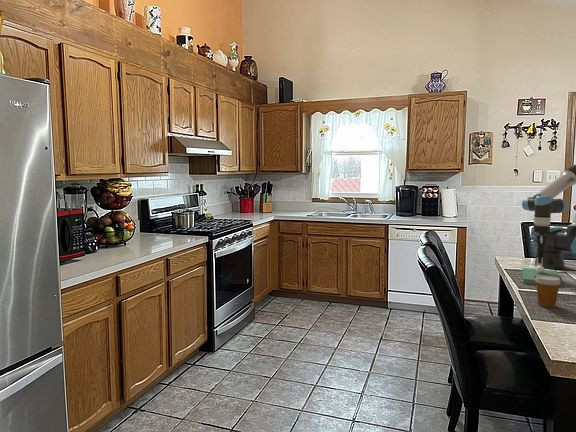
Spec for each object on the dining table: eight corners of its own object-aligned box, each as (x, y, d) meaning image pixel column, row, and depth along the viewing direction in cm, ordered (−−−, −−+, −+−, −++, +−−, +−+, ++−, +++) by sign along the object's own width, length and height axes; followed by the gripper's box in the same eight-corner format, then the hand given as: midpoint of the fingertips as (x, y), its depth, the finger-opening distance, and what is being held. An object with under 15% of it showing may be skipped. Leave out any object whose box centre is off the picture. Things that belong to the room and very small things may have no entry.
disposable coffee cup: (563, 309, 179) (565, 280, 178) (538, 308, 181) (539, 280, 180) (554, 302, 188) (555, 275, 187) (530, 301, 190) (531, 274, 189)
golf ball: (539, 264, 231) (539, 263, 228) (546, 269, 229) (546, 269, 226) (534, 270, 232) (534, 269, 228) (540, 275, 230) (541, 274, 226)
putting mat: (522, 272, 241) (522, 268, 241) (556, 275, 234) (556, 270, 234) (523, 283, 218) (523, 278, 218) (560, 287, 211) (561, 282, 211)
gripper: (533, 223, 237) (530, 266, 239) (534, 226, 225) (531, 270, 228) (549, 224, 233) (546, 267, 236) (550, 226, 222) (548, 272, 224)
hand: (539, 269), depth 232 cm, fingers closed
